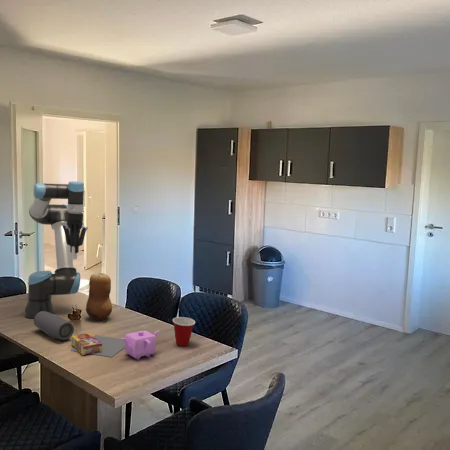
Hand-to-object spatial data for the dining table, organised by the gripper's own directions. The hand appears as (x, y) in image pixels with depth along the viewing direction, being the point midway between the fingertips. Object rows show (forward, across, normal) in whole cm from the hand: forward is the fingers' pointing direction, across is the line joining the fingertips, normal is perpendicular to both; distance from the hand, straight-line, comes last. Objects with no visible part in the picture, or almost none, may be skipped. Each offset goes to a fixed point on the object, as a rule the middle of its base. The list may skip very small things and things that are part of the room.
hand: (74, 259), depth 251 cm
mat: (+34, +28, -20) cm, 49 cm away
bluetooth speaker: (+35, 0, -17) cm, 39 cm away
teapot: (+34, +48, -24) cm, 64 cm away
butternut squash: (+35, +7, +14) cm, 38 cm away
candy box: (+32, +17, -21) cm, 42 cm away
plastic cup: (+34, +61, -4) cm, 70 cm away
